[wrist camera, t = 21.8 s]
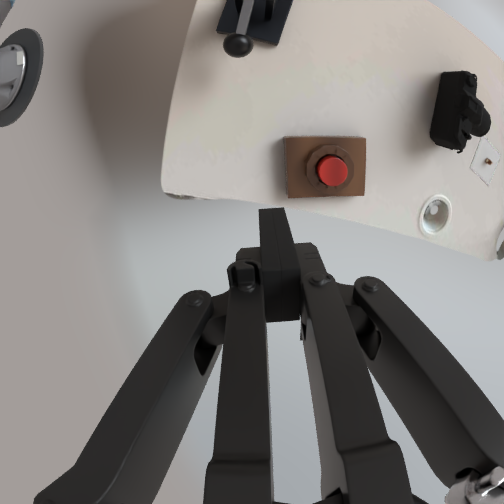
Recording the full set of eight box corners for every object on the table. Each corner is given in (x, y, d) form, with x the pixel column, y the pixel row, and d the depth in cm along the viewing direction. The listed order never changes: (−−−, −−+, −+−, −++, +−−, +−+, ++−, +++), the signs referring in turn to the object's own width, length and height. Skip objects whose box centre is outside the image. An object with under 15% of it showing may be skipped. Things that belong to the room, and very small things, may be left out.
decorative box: (488, 186, 38) (494, 189, 36) (470, 167, 36) (475, 170, 35) (500, 154, 34) (506, 157, 32) (482, 134, 33) (488, 135, 31)
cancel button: (316, 183, 36) (319, 186, 35) (316, 155, 35) (319, 157, 33) (343, 182, 36) (347, 186, 35) (343, 155, 34) (347, 157, 33)
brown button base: (286, 194, 41) (289, 202, 38) (283, 136, 37) (286, 138, 33) (359, 191, 40) (368, 199, 37) (360, 136, 36) (370, 139, 33)
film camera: (460, 159, 36) (491, 172, 28) (424, 139, 35) (456, 148, 27) (475, 90, 29) (507, 93, 21) (439, 64, 28) (472, 61, 20)
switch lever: (252, 55, 27) (247, 64, 26) (224, 49, 27) (217, 58, 25) (280, -38, 15) (277, -39, 13) (247, -44, 14) (241, -45, 13)
